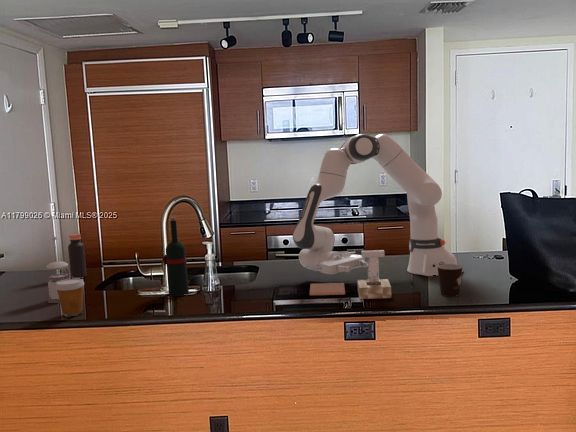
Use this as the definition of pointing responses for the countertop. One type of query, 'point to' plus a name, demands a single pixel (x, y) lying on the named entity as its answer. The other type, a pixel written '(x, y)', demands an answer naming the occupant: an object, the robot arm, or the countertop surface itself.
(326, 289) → the tile
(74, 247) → the vinegar
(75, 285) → the glass of amber beer
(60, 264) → the french press
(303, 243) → the robot arm
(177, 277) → the wine bottle
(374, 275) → the t key
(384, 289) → the socket block
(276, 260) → the countertop surface
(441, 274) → the coffee mug
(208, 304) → the countertop surface
